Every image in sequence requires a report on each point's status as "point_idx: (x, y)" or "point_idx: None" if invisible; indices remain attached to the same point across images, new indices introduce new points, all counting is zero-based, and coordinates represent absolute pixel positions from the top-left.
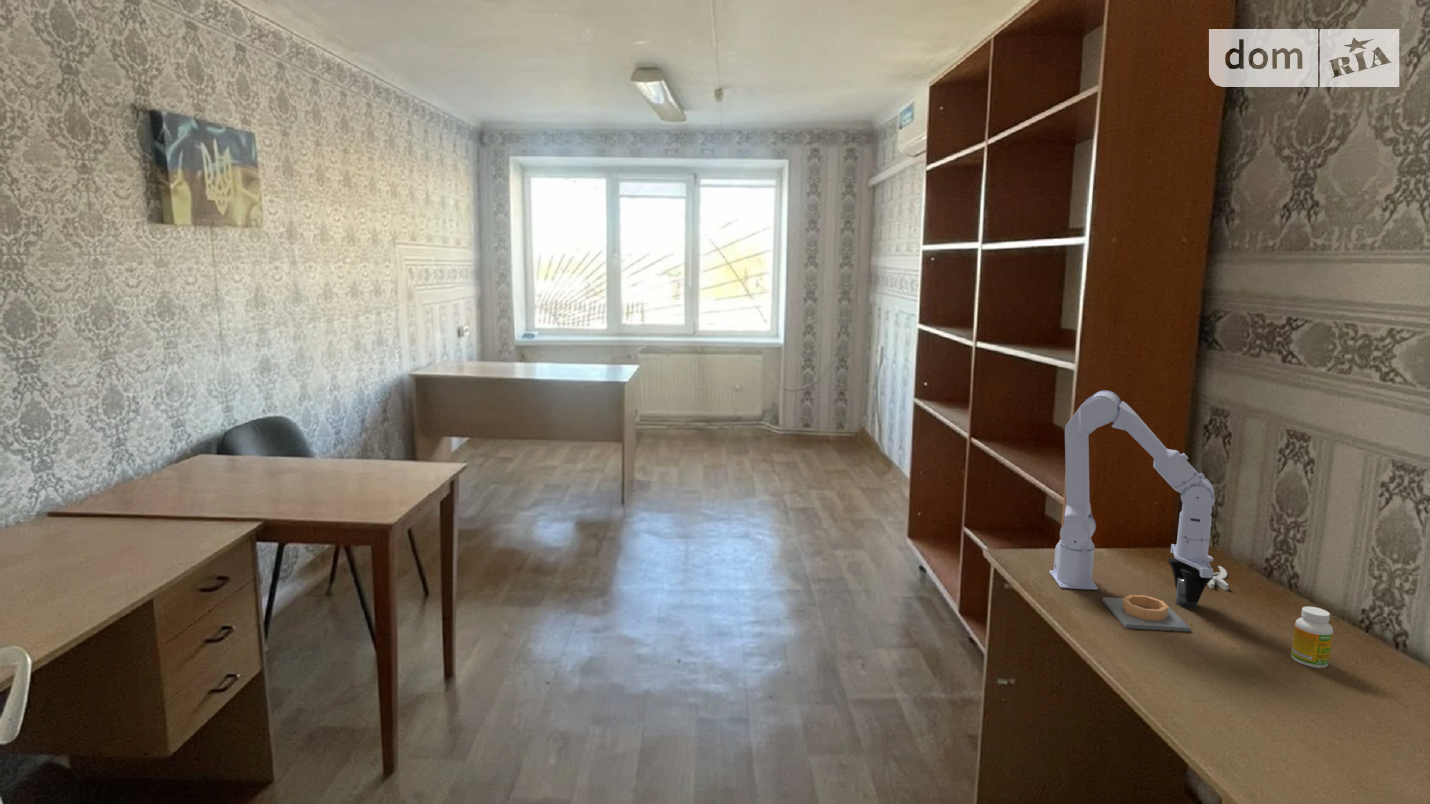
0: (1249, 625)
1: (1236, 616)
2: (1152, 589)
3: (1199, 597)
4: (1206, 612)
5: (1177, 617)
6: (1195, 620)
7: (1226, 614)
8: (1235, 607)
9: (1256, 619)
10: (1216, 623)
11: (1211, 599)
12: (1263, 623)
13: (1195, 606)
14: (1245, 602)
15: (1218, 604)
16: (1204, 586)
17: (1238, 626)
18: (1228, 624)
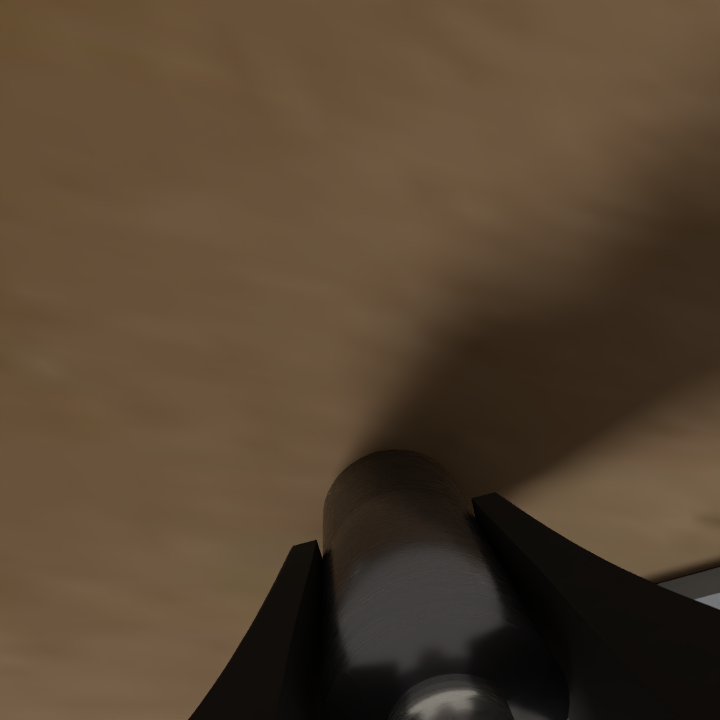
0: (668, 144)
1: (511, 203)
2: (185, 680)
3: (523, 514)
4: (497, 406)
5: (713, 606)
6: (655, 491)
7: (492, 272)
8: (306, 161)
9: (530, 43)
10: (677, 375)
11: (197, 325)
12: (603, 4)
13: (447, 473)
14: (125, 24)
15: (293, 291)
16: (649, 589)
17: (701, 235)
18: (679, 299)
